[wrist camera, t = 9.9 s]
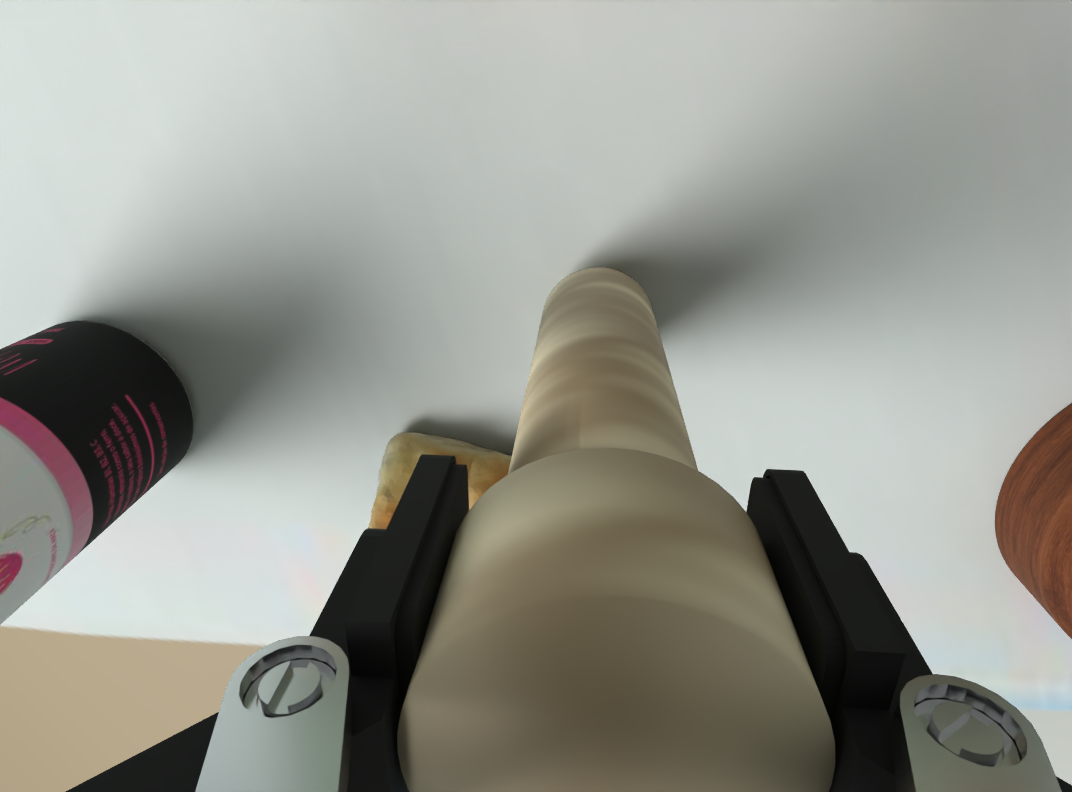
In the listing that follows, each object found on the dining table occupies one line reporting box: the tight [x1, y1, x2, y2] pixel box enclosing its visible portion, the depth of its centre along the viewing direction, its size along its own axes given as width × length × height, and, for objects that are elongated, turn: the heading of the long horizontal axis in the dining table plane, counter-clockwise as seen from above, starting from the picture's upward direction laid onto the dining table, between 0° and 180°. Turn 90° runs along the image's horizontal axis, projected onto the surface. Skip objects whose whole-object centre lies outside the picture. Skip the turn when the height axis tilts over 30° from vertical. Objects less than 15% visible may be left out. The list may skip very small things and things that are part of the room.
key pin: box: [397, 267, 835, 792], centre depth 15 cm, size 5×5×16 cm
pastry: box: [368, 432, 512, 529], centre depth 25 cm, size 9×7×4 cm
